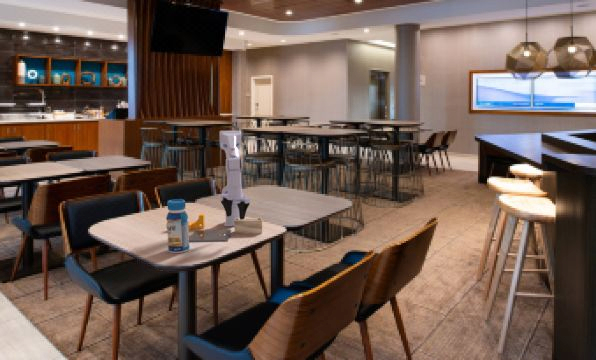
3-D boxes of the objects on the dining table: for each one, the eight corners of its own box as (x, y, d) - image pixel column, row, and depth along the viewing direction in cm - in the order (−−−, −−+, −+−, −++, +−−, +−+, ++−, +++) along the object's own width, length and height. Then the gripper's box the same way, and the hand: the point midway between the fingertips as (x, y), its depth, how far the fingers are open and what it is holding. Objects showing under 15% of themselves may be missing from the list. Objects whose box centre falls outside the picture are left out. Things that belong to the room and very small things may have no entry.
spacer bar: (235, 231, 200) (235, 217, 199) (262, 230, 201) (262, 217, 199) (234, 234, 196) (234, 220, 195) (262, 233, 197) (261, 219, 195)
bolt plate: (195, 231, 199) (195, 230, 199) (231, 231, 200) (231, 229, 200) (189, 241, 185) (189, 240, 185) (227, 241, 186) (227, 239, 186)
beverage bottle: (193, 251, 175) (190, 201, 171) (172, 255, 170) (169, 204, 166) (185, 245, 181) (182, 197, 178) (164, 249, 177) (161, 200, 173)
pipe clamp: (176, 230, 202) (175, 216, 201) (178, 227, 206) (177, 214, 205) (203, 230, 202) (202, 216, 201) (204, 227, 207) (204, 213, 205)
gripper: (215, 185, 186) (216, 216, 189) (240, 189, 178) (241, 222, 181) (227, 182, 192) (228, 213, 195) (252, 186, 184) (253, 218, 186)
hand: (235, 217), depth 188 cm, fingers open, 7 cm apart
